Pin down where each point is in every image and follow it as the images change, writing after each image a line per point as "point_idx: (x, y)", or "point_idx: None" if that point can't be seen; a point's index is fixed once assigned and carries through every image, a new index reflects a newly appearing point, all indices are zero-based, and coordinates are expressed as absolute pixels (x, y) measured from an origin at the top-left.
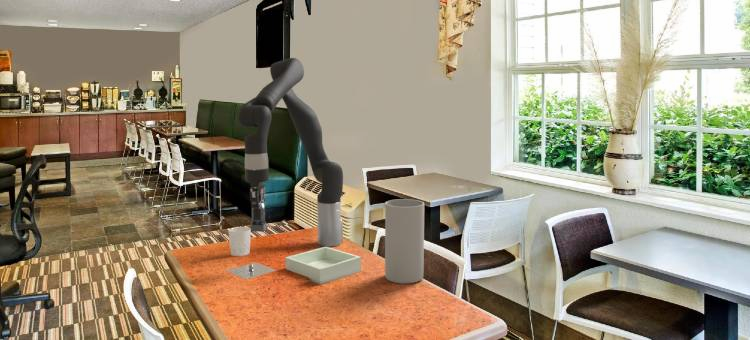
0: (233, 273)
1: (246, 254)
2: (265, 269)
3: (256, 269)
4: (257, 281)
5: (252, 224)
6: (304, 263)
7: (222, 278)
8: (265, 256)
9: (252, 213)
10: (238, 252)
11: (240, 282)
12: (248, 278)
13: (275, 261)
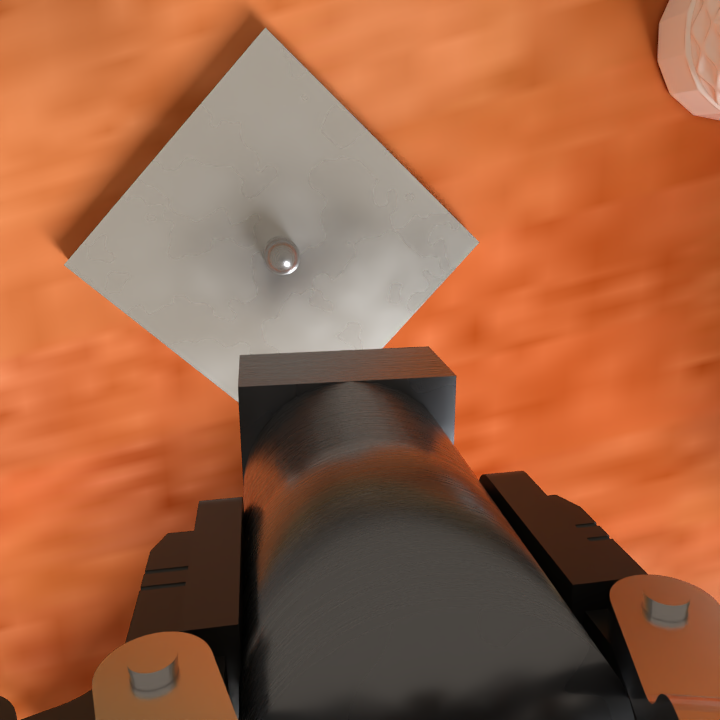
0: (196, 120)
1: (693, 103)
2: None
3: (307, 289)
4: (100, 344)
5: (265, 409)
6: None
7: (141, 35)
8: (685, 258)
9: (295, 496)
10: (686, 32)
11: (61, 219)
12: (86, 281)
13: (559, 363)
